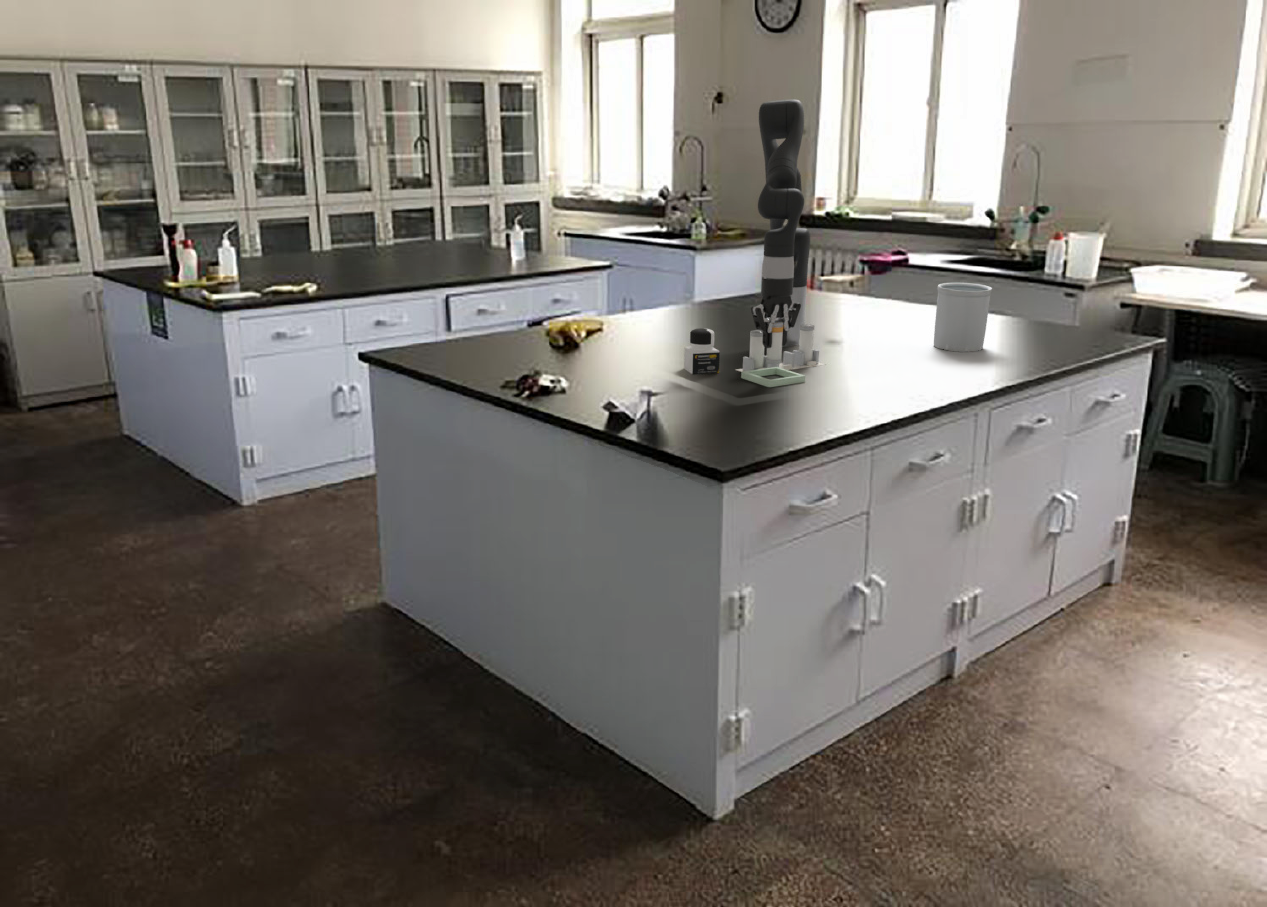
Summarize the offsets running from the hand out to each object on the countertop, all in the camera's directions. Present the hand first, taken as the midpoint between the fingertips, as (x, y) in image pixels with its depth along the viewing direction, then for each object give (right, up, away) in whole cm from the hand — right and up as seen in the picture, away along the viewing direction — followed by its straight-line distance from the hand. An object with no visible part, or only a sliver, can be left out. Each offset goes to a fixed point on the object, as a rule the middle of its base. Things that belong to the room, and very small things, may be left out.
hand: (774, 346), depth 252 cm
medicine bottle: (-17, -7, +12) cm, 22 cm away
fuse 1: (-3, -5, +12) cm, 13 cm away
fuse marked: (0, -4, +1) cm, 4 cm away
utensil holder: (+60, +4, +48) cm, 77 cm away
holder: (+4, -5, +16) cm, 18 cm away
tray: (0, -9, +3) cm, 10 cm away
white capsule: (+11, -3, +20) cm, 23 cm away
